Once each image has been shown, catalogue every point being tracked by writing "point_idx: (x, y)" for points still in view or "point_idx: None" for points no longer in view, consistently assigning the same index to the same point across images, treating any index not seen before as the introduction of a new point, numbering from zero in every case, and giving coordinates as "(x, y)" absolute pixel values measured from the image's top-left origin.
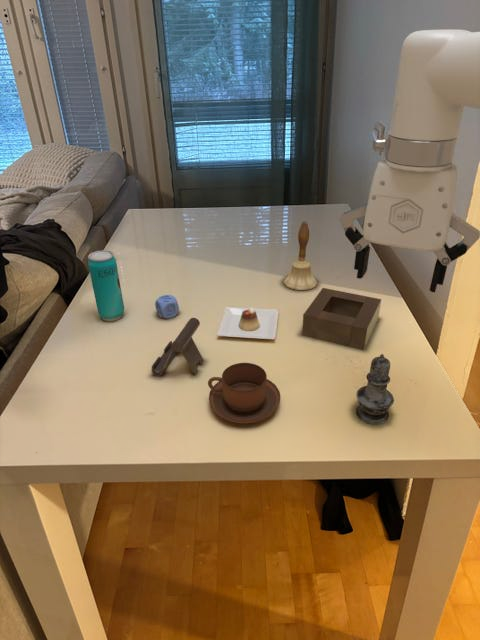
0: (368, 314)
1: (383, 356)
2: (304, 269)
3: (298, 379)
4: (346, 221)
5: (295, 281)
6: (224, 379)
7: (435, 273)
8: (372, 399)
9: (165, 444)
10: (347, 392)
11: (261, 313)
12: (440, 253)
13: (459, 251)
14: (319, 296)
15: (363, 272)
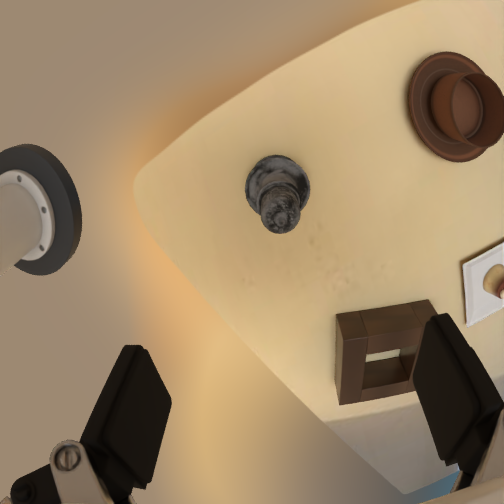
0: (349, 370)
1: (278, 221)
2: None
3: (406, 198)
4: None
5: None
6: (496, 107)
7: (106, 406)
8: (276, 172)
9: (479, 6)
10: (328, 207)
11: (485, 309)
12: (78, 491)
13: (27, 489)
14: None
15: (432, 345)
